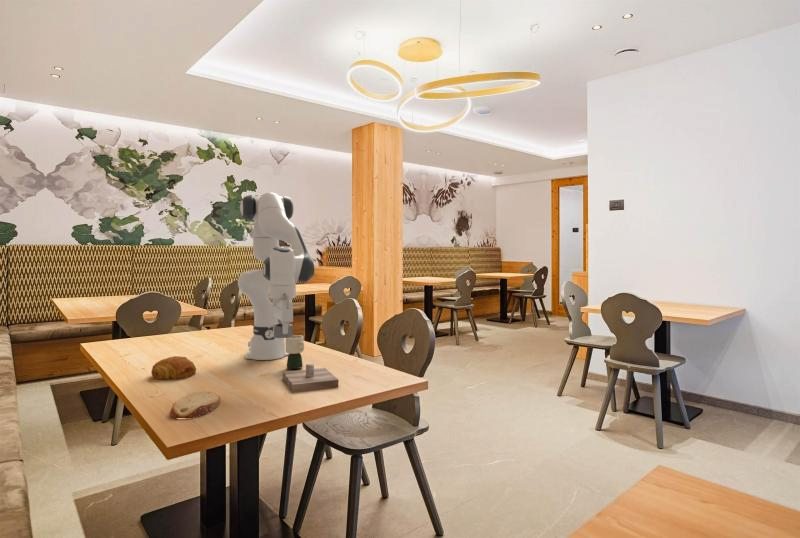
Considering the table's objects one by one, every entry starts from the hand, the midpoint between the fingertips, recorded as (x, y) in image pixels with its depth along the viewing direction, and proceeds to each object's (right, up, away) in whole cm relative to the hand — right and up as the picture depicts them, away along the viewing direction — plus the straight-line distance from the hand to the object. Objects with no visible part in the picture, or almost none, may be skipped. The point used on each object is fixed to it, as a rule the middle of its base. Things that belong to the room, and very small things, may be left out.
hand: (283, 331), depth 167 cm
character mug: (-1, -18, +24) cm, 30 cm away
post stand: (+9, -19, +4) cm, 21 cm away
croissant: (-44, -19, +13) cm, 50 cm away
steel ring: (0, -2, 0) cm, 2 cm away
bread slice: (-21, -21, -23) cm, 37 cm away
